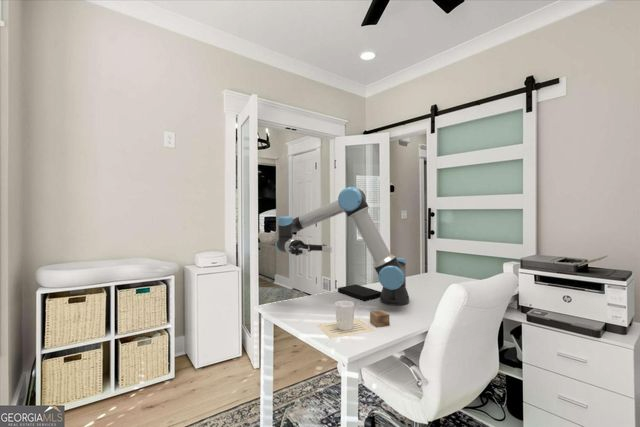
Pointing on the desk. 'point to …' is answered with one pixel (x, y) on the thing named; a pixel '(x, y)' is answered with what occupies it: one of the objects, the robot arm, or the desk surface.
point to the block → (379, 318)
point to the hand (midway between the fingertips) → (319, 251)
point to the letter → (334, 332)
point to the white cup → (344, 315)
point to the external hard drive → (360, 292)
